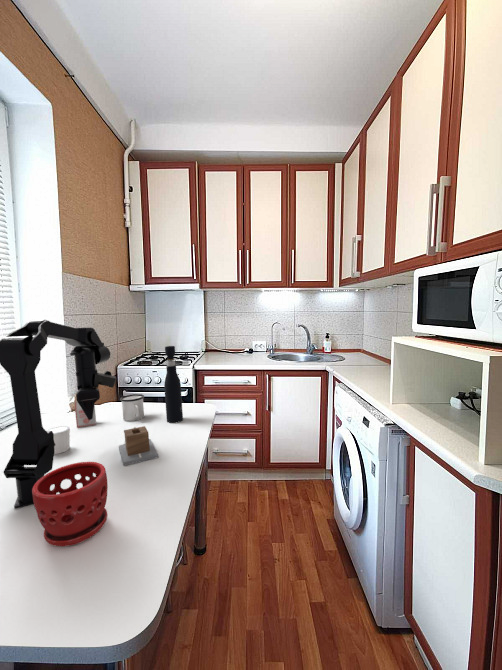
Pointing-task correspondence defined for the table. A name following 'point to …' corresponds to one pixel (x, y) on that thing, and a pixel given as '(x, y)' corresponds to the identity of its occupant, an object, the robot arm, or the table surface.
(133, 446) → the hollow wooden cube
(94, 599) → the table surface
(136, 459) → the switch plate
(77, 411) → the small printed carton
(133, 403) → the mug
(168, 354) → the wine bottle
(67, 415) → the table surface
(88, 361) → the robot arm
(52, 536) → the plant pot
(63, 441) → the white cylinder
